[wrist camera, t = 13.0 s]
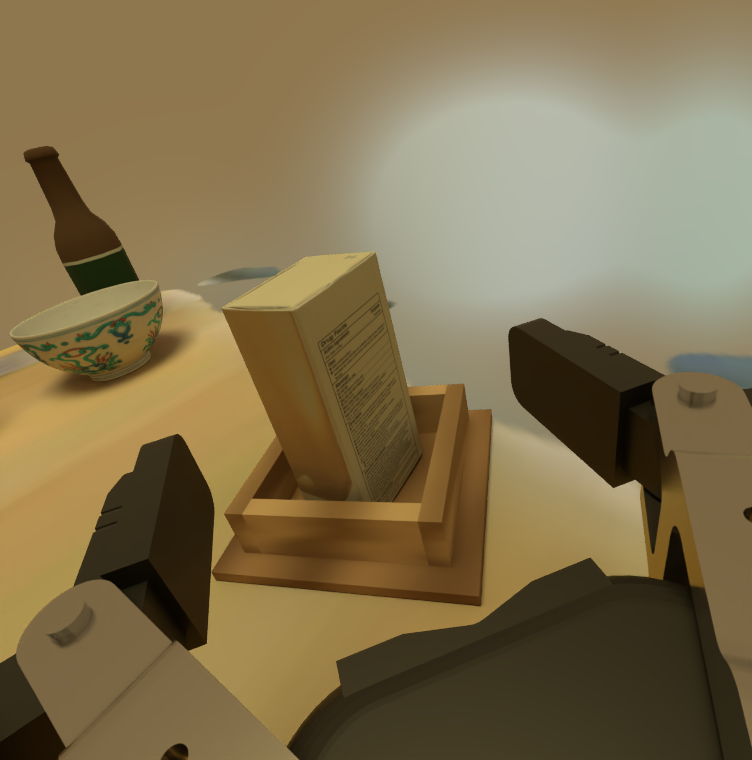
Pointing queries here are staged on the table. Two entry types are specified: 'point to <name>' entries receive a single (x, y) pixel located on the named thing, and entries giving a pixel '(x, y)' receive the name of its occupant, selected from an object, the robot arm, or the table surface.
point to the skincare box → (330, 376)
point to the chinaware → (96, 331)
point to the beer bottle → (79, 229)
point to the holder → (375, 518)
